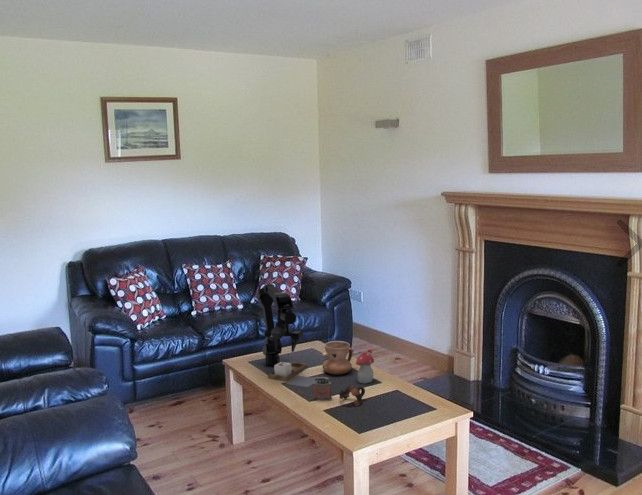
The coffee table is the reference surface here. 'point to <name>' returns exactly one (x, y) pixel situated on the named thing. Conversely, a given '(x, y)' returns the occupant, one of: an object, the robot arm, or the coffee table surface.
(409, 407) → the coffee table surface
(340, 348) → the ceramic jug
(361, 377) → the decorative ornament
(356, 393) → the brown irregular piece
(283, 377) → the tray
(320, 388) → the lighter
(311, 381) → the pad
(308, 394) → the coffee table surface
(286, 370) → the letter cube
